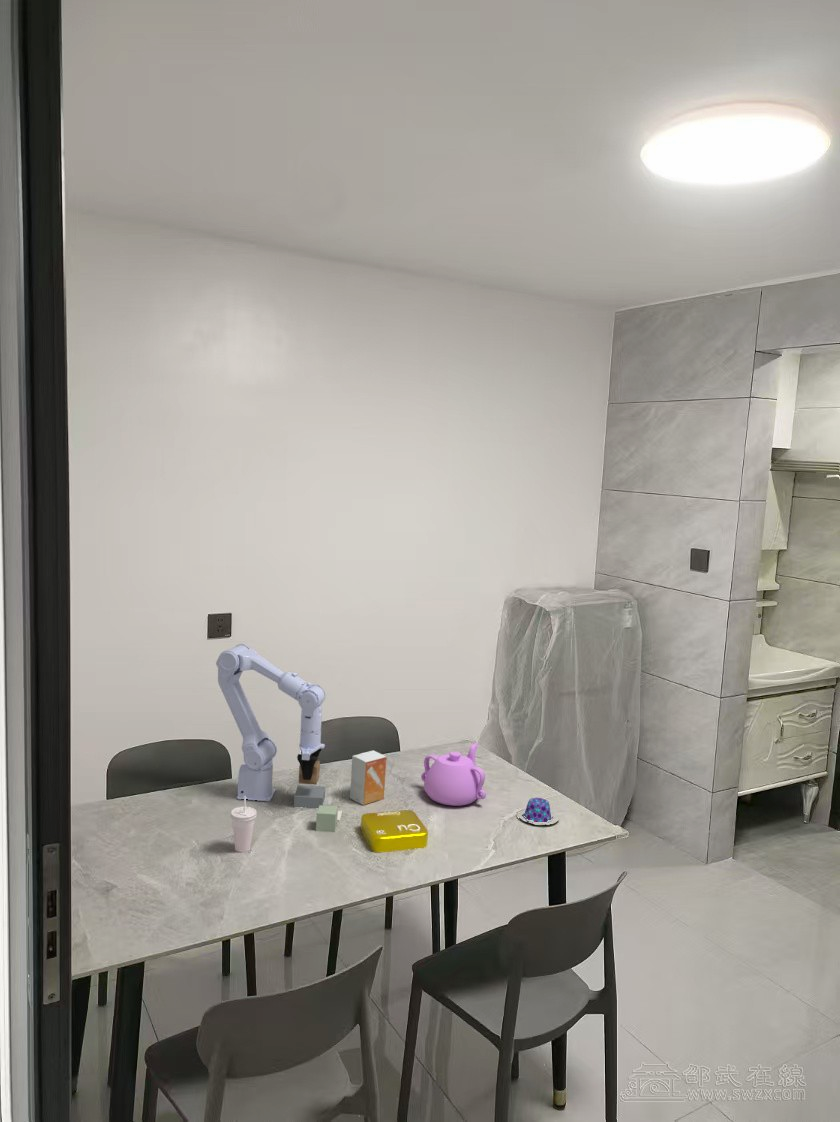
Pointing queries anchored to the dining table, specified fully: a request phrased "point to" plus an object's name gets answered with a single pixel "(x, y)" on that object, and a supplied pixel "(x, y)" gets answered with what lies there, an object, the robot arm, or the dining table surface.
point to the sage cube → (326, 818)
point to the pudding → (538, 810)
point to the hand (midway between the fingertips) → (308, 775)
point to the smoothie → (243, 826)
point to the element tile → (393, 831)
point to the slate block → (309, 796)
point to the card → (339, 815)
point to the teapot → (454, 778)
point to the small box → (368, 777)
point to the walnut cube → (314, 775)
